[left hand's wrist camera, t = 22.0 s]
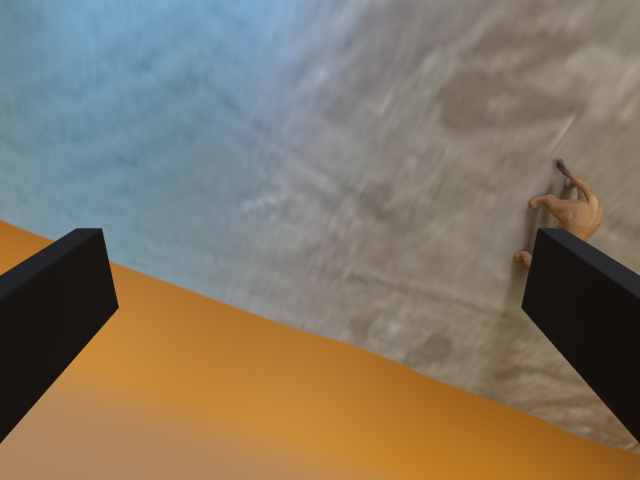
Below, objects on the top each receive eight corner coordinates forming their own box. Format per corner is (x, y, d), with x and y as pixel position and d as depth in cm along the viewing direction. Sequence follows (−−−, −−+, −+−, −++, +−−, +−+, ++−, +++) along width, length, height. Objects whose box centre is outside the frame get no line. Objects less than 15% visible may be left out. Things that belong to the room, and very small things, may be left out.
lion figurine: (554, 286, 36) (606, 334, 29) (507, 288, 36) (548, 336, 29) (581, 156, 31) (650, 179, 25) (527, 158, 31) (581, 182, 25)
